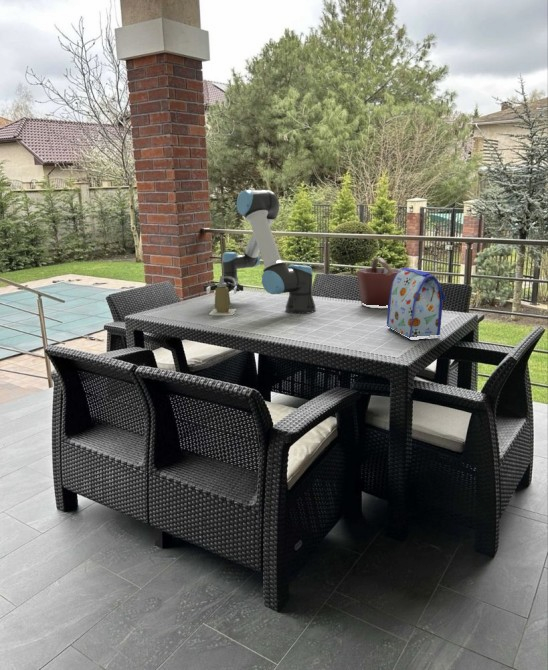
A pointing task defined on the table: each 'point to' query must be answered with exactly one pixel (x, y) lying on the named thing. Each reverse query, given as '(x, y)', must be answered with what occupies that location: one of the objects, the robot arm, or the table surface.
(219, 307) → the squeeze bottle
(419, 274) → the lunch bag
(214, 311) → the card
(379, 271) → the bucket
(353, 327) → the table surface
